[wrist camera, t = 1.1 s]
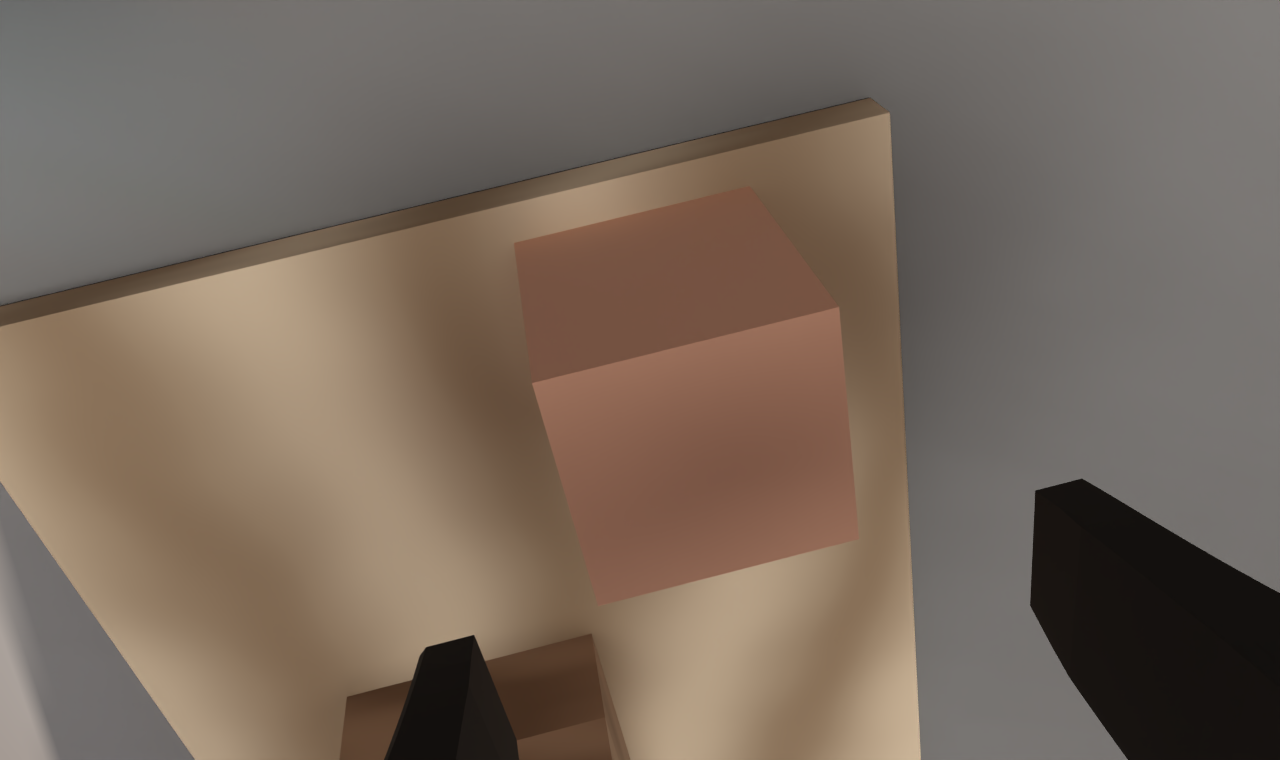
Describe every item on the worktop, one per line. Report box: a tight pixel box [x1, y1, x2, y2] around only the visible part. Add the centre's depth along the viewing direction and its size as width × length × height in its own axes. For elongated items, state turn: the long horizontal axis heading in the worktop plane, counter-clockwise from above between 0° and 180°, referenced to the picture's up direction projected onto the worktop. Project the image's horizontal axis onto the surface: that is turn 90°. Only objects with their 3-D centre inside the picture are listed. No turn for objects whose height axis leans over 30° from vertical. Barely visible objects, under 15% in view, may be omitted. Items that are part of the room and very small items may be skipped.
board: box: [0, 98, 921, 760], centre depth 24 cm, size 18×22×1 cm
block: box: [514, 186, 859, 606], centre depth 17 cm, size 4×4×5 cm
